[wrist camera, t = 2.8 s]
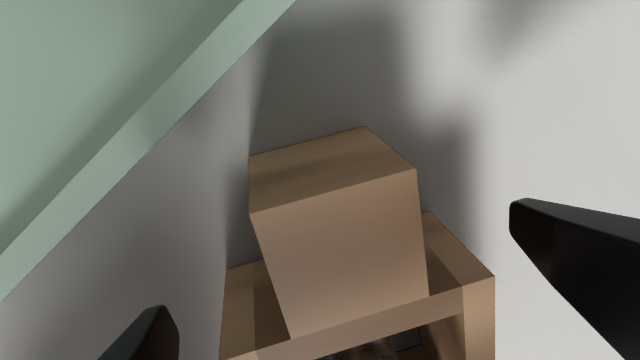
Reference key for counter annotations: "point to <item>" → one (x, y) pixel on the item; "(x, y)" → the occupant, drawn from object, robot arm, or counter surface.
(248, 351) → the wooden frame stand
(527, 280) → the counter surface
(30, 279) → the counter surface
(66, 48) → the tray
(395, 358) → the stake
